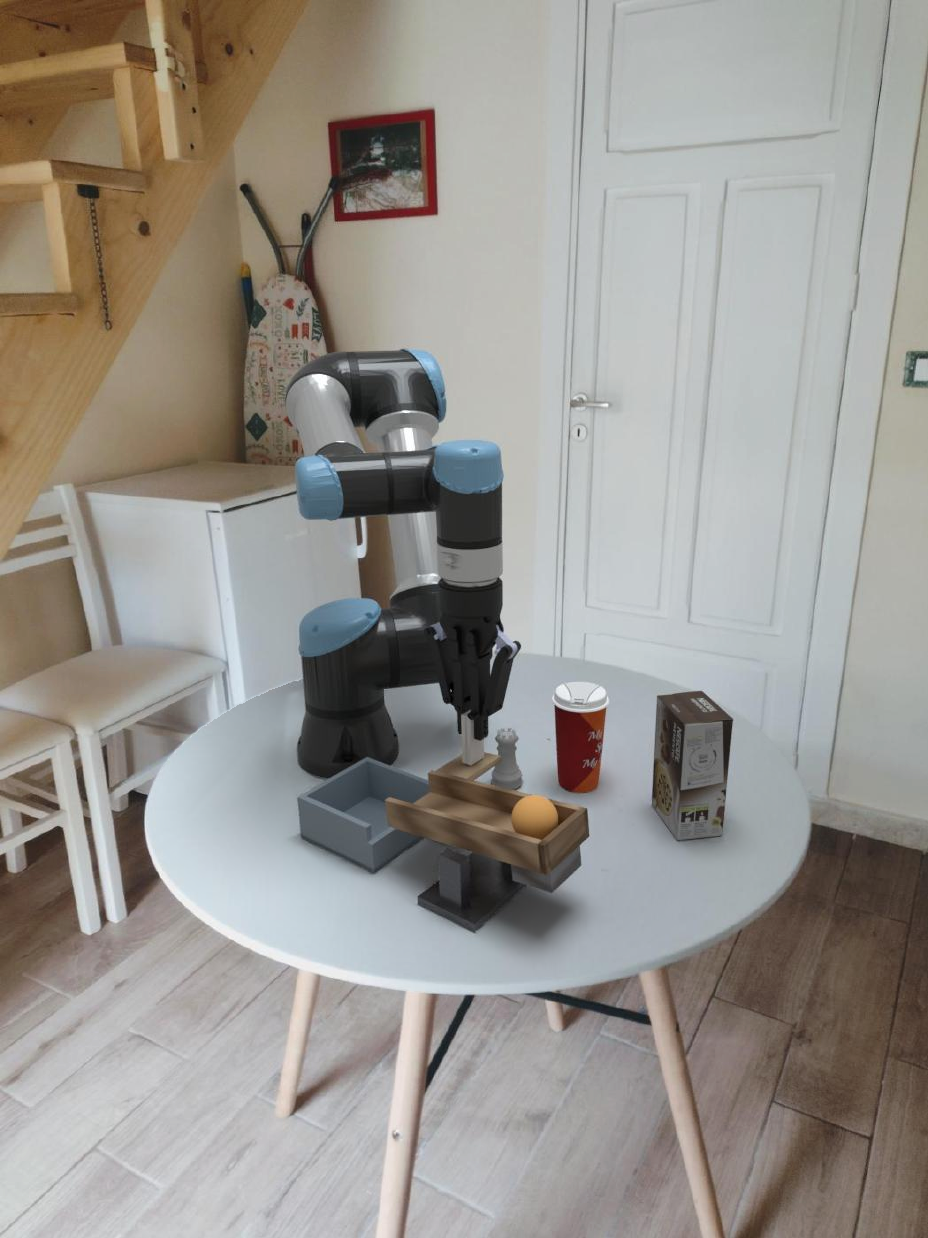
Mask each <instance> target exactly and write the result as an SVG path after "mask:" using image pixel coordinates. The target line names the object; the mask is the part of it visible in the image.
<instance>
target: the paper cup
mask: <svg viewBox="0 0 928 1238" xmlns="http://www.w3.org/2000/svg"><path fill="white" fill-rule="evenodd" d="M551 702H552V704H553V705H554V724H555V746H556V748H555V749H556V765H557V767H556V768H557V780H558V781H557V782H558V785H559V787H561V789H563V790H565V791H567V792H569V793H577V794H584V793H589V792H592V791H594V790H595V789H597V788H598V786H599V780H600V774H601V772H600V771H601V766H602V765H601V764H602V757H603V756H602V754H603V744H604V735H605V725H606V724H605V723H606V717H607V707H608V706H609V704H610V698H609V697H608V695H607V691H606V689H605V688H604V687H603V686H601V685H599V684H596V683H593V682H589V681H588V682H587V681H571V682H570V681H569V682H566V683H562V684H560V685H558V686H557V687H556V689H555V690H554V694H553V695H552V697H551Z"/></svg>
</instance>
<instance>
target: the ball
mask: <svg viewBox="0 0 928 1238" xmlns="http://www.w3.org/2000/svg"><path fill="white" fill-rule="evenodd" d="M548 799H549V798H546V797H544V796H542V795H539V794H531V795H530V796H526V797H524V798H522V799H521V800H520V801H518V803H517V804H516V805H515V807H514V809H513V811H512V816H511V821H512V826H513V828H514V830H515V832H516V833H518V834H522V835H525V836H529V837H533V838H536V839H540V840H543V839H544V838H545V837H546V836H547V835H548V834H550V833H551V832H552V831H553V830H554V829H556V828H557V825H558V814H557V810H556V808H555V806H554V805H553V804H552V803H551V801H549V800H548Z"/></svg>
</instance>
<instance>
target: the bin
mask: <svg viewBox="0 0 928 1238" xmlns="http://www.w3.org/2000/svg"><path fill="white" fill-rule="evenodd" d="M429 792H430V787H429V779H426V778H423V777H421V776H418V775H415V774H413V773H410V772H408V771H405V770H402V769H401V768H397V767H394V766H392V765H387V764H384V763H382V762H379V761H377V760H374V759H371V758H369V757H366V758H364V759H363V760H361V761H359V762H357V763H356V764H354V765H352V766H350V767H349V768H347V769H345V770H343V771H341V772H340V773H338V774H336V775H334V776H333V777H331V778H329V779H326V780H324V781H322V782H321V783H319V784H317V785H315V786H313V787H311V788H310V789H308V790H307V791H304V792H303V793H301V794H299V795H298V796H296V799H297V800H296V801H297V810H298V820H299V829H300V830H299V831H300V839H302V840H304V841H306V842H308V843H310V844H312V845H314V846H316V847H318V848H320V849H323V850H324V849H325V850H324V851H327V852H329V853H331V854H333V855H335V856H336V857H339V858H341V859H343V860H345V861H347V862H349V863H351V864H353V865H355V866H358V867H360V868H361V869H363V870H366V871H367V872H369V873H371V874H376V873H377V872H379V871H380V870H382V869H383V868H384V867H386V866H387V865H388V864H390V863H391V862H392V861H394V860H395V859H398V857H399V856H401V855H402V854H404V853H405V852H406V851H408V850H409V849H411V848H412V847H413V846H414V845H416V844H417V843H419V842H420V841H422V840H424V838H425V837H421V836H418V835H415V834H412V833H408V832H405V831H402V830H399V829H396V828H392V827H389V826H388V819H387V813H386V806H385V800H386V799H387V798H389V797H390V798H394V799H398V800H401V801H405V802H408V803H412V804H413V803H414V802H416V801H417V800H419V799H420V798H422V797H423V796H425V795H426V794H428V793H429Z"/></svg>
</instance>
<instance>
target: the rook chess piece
mask: <svg viewBox="0 0 928 1238" xmlns="http://www.w3.org/2000/svg"><path fill="white" fill-rule="evenodd" d="M494 741H495V742H496V743H497V746H496V750H497V752H498V753H497V755H499V756H501V762H500V763H499V764H497V765H496V766H494V767H493V770H492V771H491V779H490V781H491V785H494V786H498V787H502V788H506V789H511V790H516V789H519V787H520V786H521V785H522V783H523V782H524V781H523V778H522V777H523V772H522V770H521V768H520V766H519V765H518V764H517V756H516V752H517V749H518V747H517V746H516V743H518V741H519V736H518V735H517V732H516V730H515V729H512V728H510V727H507V730H505V727H504V728H500V729H498V730H497V734H496V736H495V737H494Z"/></svg>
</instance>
